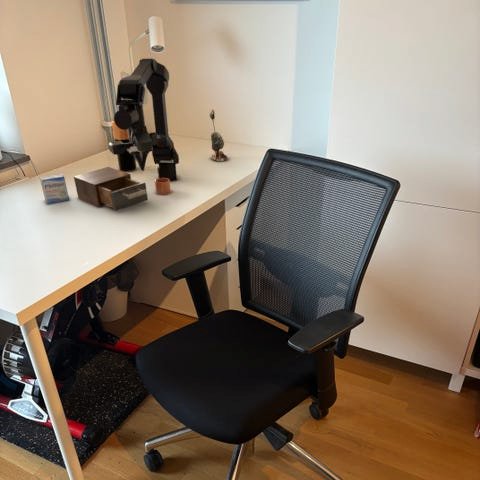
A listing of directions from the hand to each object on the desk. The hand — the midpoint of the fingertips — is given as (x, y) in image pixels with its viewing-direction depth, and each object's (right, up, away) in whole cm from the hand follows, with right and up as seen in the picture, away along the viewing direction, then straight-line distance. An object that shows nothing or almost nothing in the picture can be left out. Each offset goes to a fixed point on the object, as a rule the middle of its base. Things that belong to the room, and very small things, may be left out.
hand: (142, 170), depth 170 cm
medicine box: (-33, -8, +11) cm, 35 cm away
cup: (+5, -4, +15) cm, 16 cm away
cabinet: (-16, -6, +12) cm, 21 cm away
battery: (-14, +12, +39) cm, 43 cm away
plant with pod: (+24, +19, +47) cm, 56 cm away
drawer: (-7, -10, +4) cm, 13 cm away
